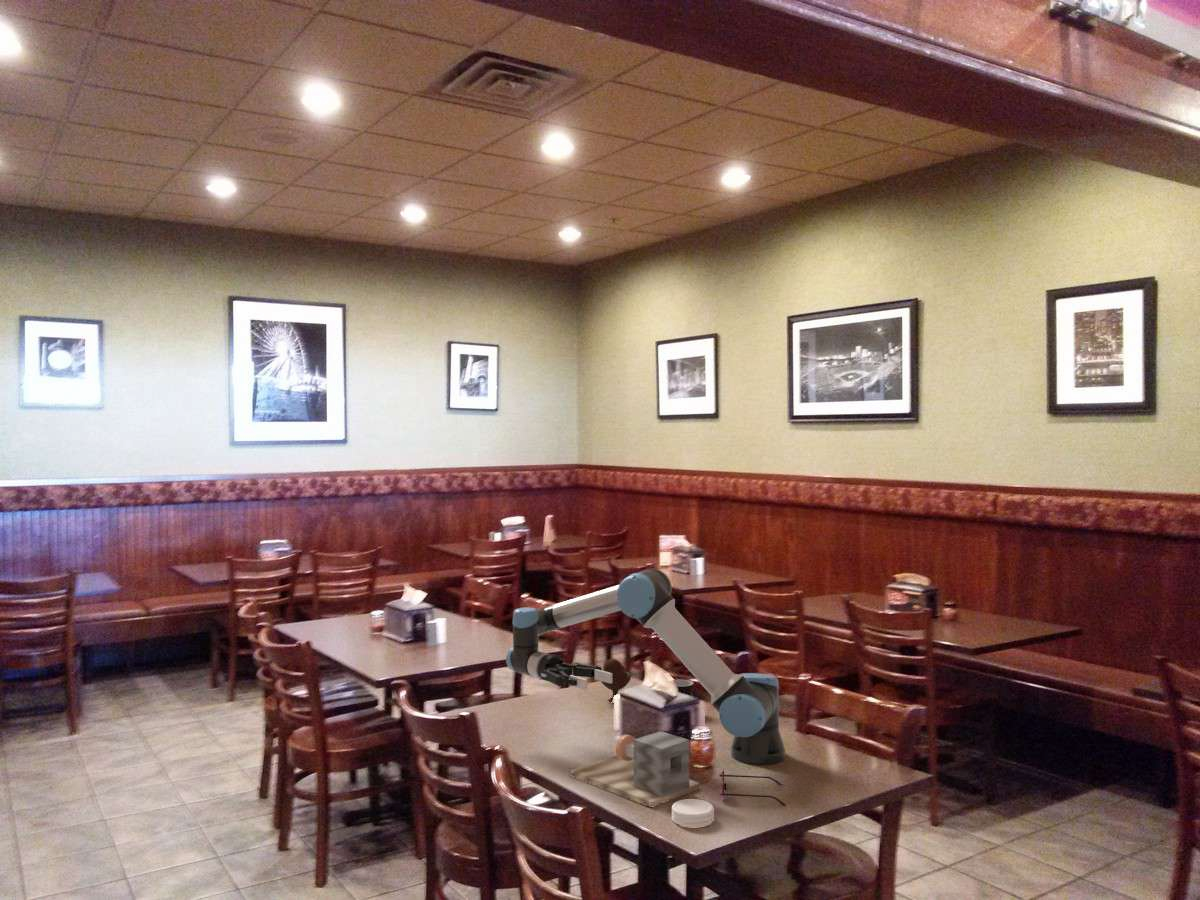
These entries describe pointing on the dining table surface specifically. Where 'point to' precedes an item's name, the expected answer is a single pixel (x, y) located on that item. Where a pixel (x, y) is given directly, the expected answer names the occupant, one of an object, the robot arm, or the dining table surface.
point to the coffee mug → (685, 686)
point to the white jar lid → (692, 812)
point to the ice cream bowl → (616, 676)
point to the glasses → (741, 794)
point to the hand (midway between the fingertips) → (598, 681)
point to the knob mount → (645, 770)
